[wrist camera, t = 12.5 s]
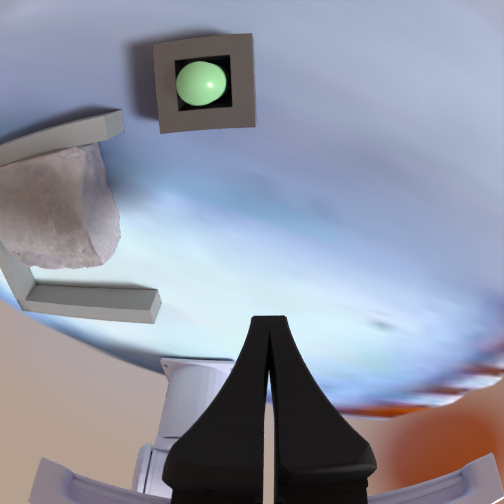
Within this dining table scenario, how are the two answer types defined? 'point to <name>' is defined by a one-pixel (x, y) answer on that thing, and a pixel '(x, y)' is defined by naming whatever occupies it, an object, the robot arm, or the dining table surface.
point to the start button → (202, 83)
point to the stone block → (59, 209)
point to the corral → (63, 297)
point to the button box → (210, 115)
